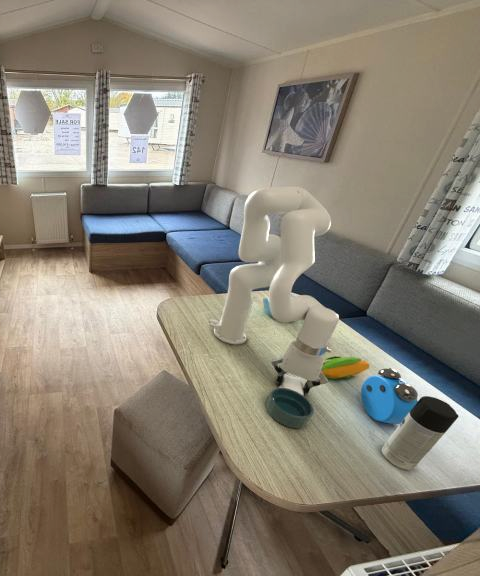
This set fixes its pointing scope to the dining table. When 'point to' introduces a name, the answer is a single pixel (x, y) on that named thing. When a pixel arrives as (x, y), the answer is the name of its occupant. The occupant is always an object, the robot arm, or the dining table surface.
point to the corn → (343, 367)
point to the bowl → (289, 408)
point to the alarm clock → (388, 397)
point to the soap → (292, 384)
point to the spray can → (419, 432)
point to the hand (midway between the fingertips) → (290, 388)
